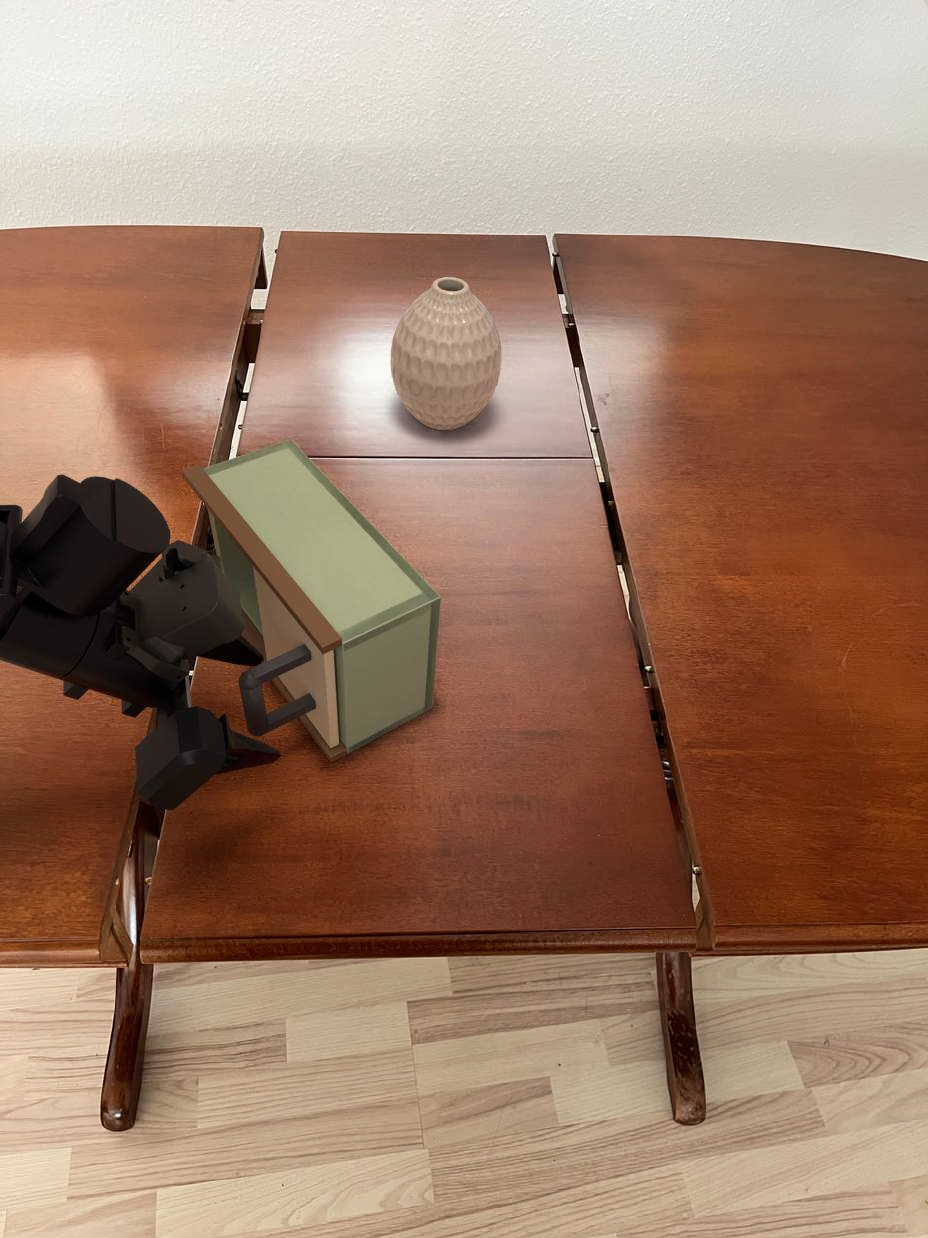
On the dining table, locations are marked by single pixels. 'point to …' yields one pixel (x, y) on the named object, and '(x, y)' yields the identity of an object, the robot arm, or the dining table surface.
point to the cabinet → (326, 586)
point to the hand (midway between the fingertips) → (268, 707)
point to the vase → (446, 356)
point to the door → (289, 673)
